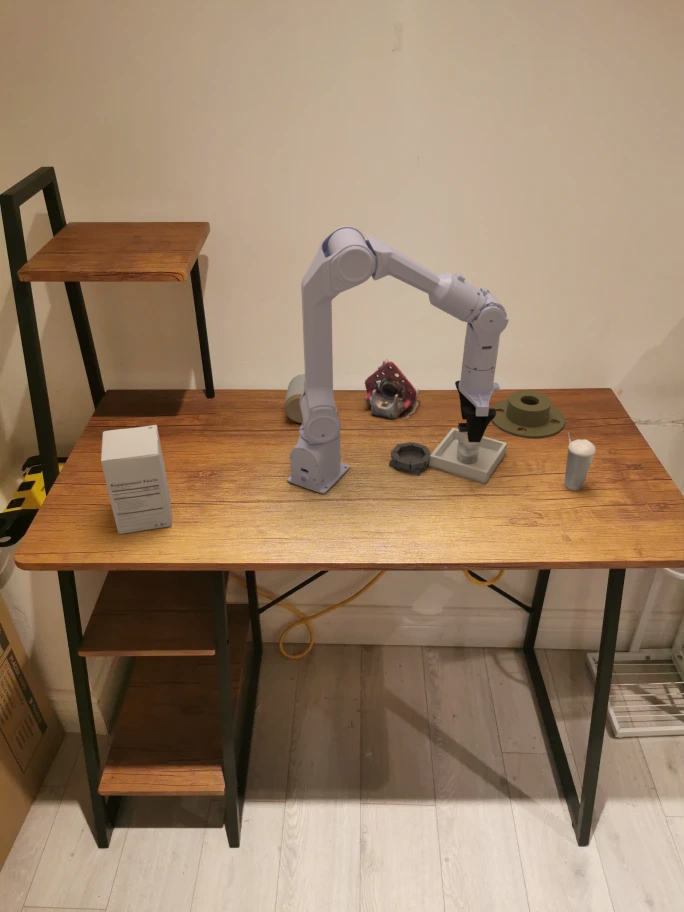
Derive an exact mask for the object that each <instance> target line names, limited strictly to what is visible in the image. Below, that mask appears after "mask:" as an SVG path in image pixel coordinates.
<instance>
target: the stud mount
mask: <svg viewBox="0 0 684 912" xmlns="http://www.w3.org/2000/svg"><path fill="white" fill-rule="evenodd" d="M431 454H432V452H431V451H430V450H429V448H428V447H427V446H426V445H424V444H420V443H417V442H414V441H410V442H402V443H398V444H396V445H395V447H394V448H393V449H392V450H391V451H390V458H391V459H390V461H389V463H388V467H390V468H393V469H397V470H400V471H402V472H406V473H409V474H412V475H416V476H420V475H421V473H422V472H423V471H424V470H425V469H426V467H427V466H429V460H430V455H431Z"/></svg>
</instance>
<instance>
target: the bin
mask: <svg viewBox="0 0 684 912" xmlns="http://www.w3.org/2000/svg"><path fill="white" fill-rule="evenodd" d="M458 437H459V430H458V428H455V427H451V429H450V430H449V432H447V434H446V435H445V437H444V438H443V439H442V440H441V442H439V443H438V445H437V447H435V449H433V451H432V452H431V455H430V460H429V464H428V467H429V468H432V469H436V470H438V471H441V472H444V473H448V474H452V475H454V476H458V477H461V478H464V479H467V480H470V481H473V482H478V483H479V484H483V485H486V484H487V482H488V481H489V479H490V478H491V477H492V475H493V474H494V472H495V470H496V469H497V467H498V466H499V465H500V463H501V461H502V460H503V458H504V457H505V456H506V452H507V446H508V442H504V441H501V440H497V439H494V438H490V437H487V436H484V435H483V437H482V439H481V441H480V447H479V455H478V461H477V462H476V463H474V464H463V463H461V462H459V461H458V460H457V458H456V456H457V447H458Z"/></svg>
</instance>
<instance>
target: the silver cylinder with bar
mask: <svg viewBox="0 0 684 912" xmlns="http://www.w3.org/2000/svg"><path fill="white" fill-rule="evenodd" d="M457 429H458V430H459V437H458V447H457V456H456V458H457V460H458V461H459V462H461V463H463V464H474V463H476V462H477V461H478V455H479V447H480V442H469V441H468V436H467V422H458V424H457Z"/></svg>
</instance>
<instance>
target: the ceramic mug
mask: <svg viewBox="0 0 684 912" xmlns="http://www.w3.org/2000/svg"><path fill="white" fill-rule="evenodd" d="M304 382H305V373H304V374H298V375H296V376H294V377H292V378H291V380H290V381H289V384H288V386H287V390H286V395H285V399H284V411H285V414H286V416H287V417H288V418H289V420H290V421H293V422H296V423H299V424H302V422H303V417H302V412H301V409H300V406H299V401H300V398H301V396H302V394H303V391H304ZM335 408H336V412H337V413H339V412H338V409H339V408H338V406H337V405H336V404H335Z"/></svg>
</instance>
